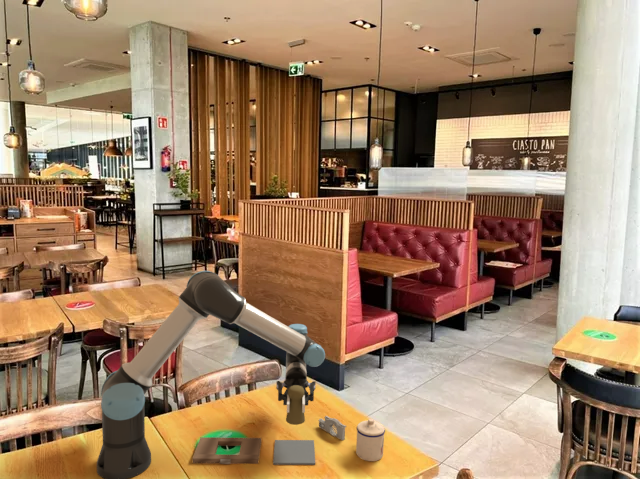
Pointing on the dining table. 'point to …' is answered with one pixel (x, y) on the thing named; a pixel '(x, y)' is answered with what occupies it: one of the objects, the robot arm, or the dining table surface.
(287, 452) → the gray mat
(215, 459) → the walnut holder
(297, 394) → the brown tall rounded piece
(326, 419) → the garden wall model
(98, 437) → the dining table surface
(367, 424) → the teacup with lid
